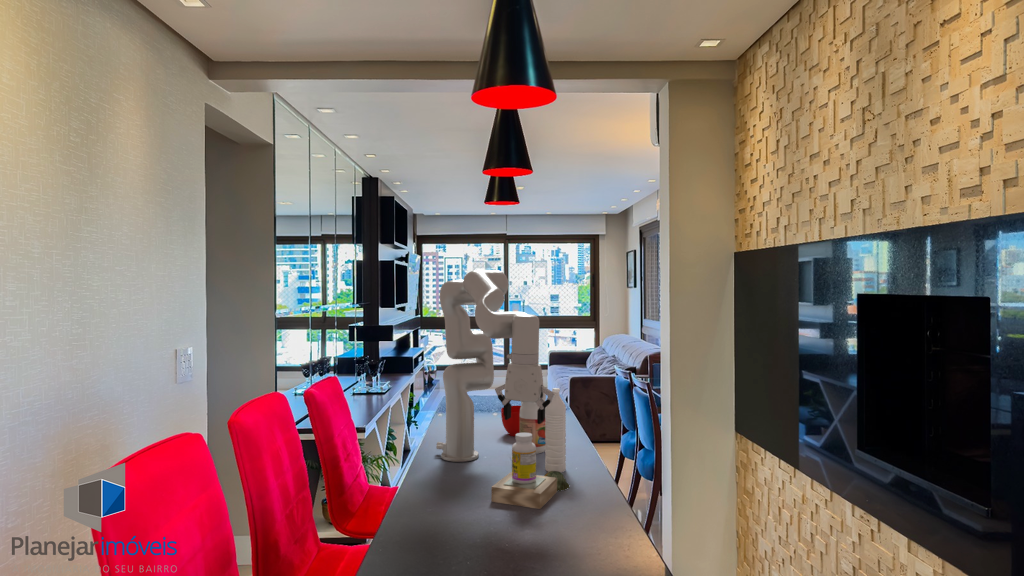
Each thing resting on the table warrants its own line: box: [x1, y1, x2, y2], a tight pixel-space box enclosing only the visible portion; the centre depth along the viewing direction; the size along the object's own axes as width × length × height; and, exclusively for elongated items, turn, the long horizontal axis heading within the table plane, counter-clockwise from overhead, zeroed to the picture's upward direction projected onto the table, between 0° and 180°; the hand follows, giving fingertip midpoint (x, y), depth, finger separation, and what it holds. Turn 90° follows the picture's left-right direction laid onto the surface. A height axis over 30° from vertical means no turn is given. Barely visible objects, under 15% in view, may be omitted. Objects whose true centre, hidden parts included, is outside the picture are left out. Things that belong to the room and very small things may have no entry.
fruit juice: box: [520, 393, 547, 455], centre depth 213 cm, size 9×9×28 cm
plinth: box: [490, 471, 558, 510], centre depth 167 cm, size 14×14×4 cm
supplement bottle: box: [511, 433, 537, 484], centre depth 167 cm, size 7×7×13 cm
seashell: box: [543, 471, 570, 492], centre depth 176 cm, size 10×4×10 cm
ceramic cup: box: [500, 405, 521, 437], centre depth 237 cm, size 13×17×10 cm
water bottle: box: [544, 387, 567, 473], centre depth 192 cm, size 9×6×25 cm
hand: (523, 420), depth 167 cm, fingers open, 9 cm apart
